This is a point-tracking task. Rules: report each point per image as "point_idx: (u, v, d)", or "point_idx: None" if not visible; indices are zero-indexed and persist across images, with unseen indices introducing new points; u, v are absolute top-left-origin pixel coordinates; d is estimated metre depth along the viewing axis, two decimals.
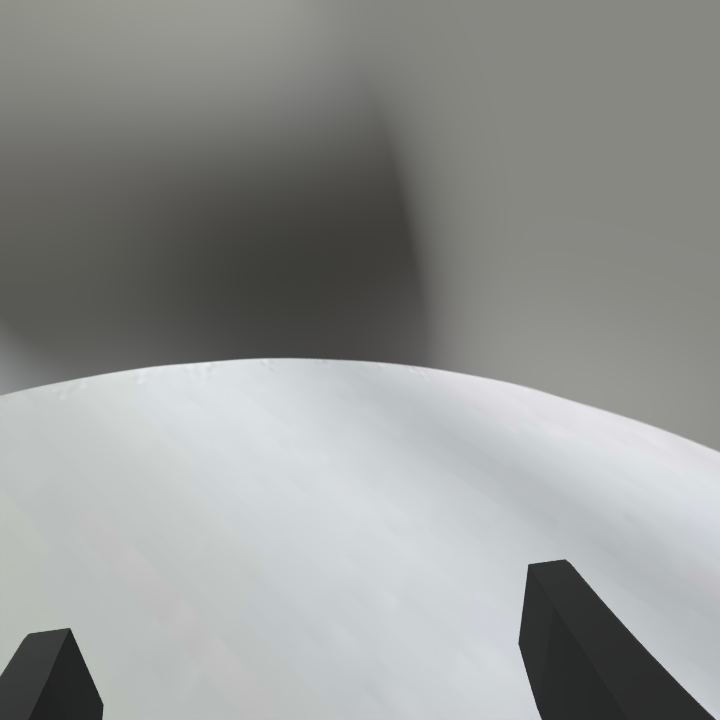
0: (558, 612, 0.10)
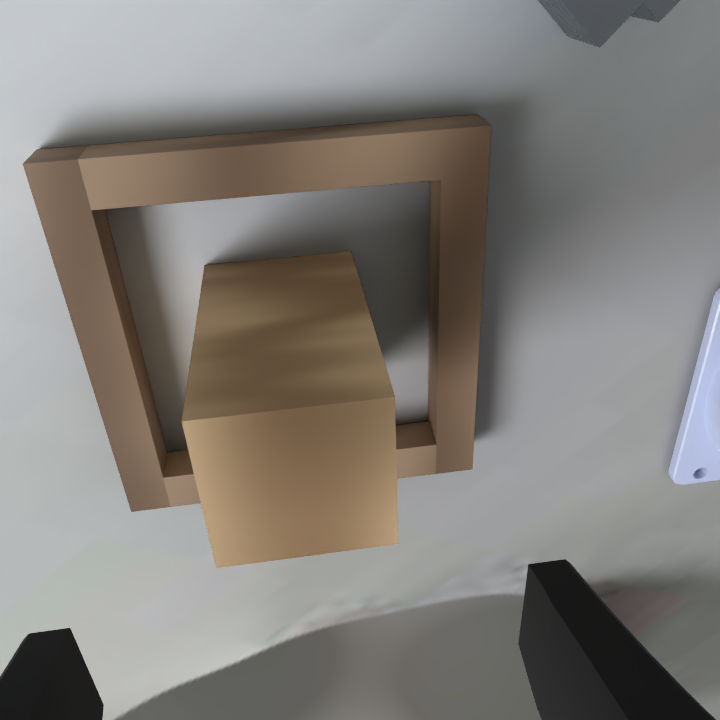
0: (558, 612, 0.10)
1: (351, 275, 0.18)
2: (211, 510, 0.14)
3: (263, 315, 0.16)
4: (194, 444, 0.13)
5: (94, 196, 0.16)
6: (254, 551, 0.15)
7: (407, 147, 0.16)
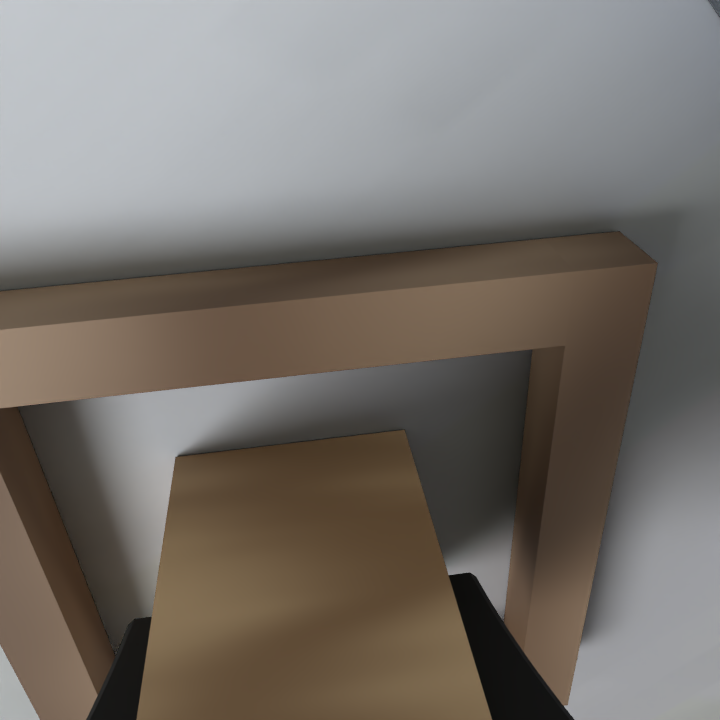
0: None
1: (411, 491, 0.11)
2: None
3: (269, 598, 0.09)
4: None
5: None
6: None
7: (514, 300, 0.10)
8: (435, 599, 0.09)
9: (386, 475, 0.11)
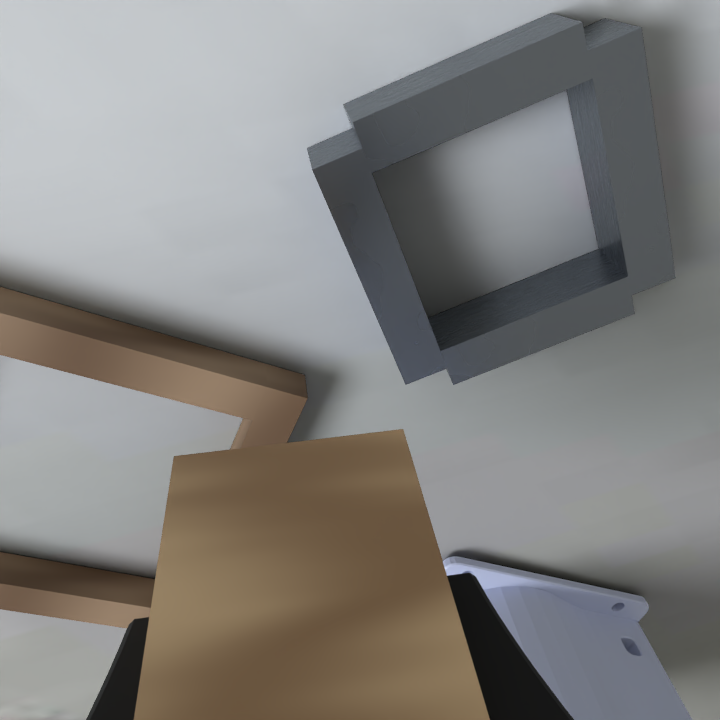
0: None
1: (409, 491, 0.11)
2: None
3: (267, 597, 0.09)
4: None
5: None
6: None
7: (233, 389, 0.19)
8: (433, 598, 0.09)
9: (384, 474, 0.11)
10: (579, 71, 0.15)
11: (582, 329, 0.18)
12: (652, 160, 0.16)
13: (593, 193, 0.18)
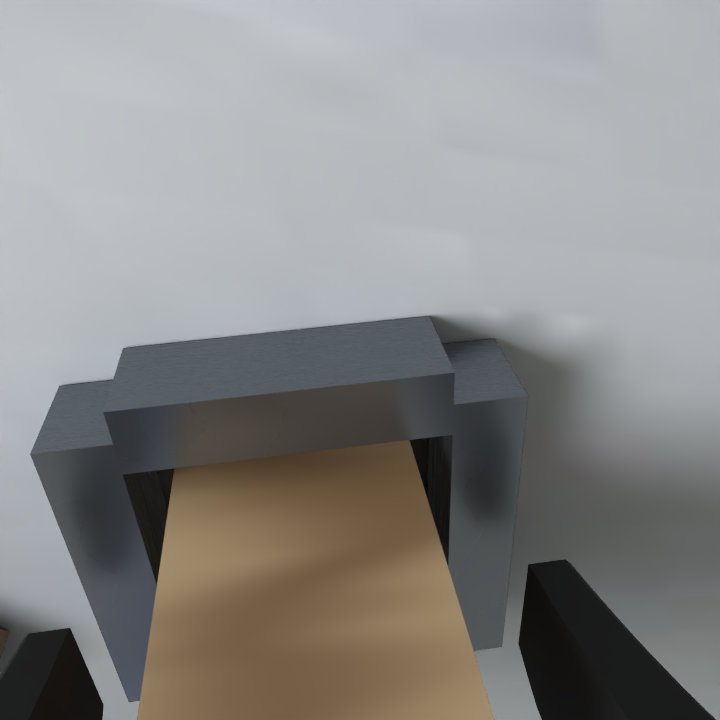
0: (558, 612, 0.10)
1: (402, 454, 0.11)
2: None
3: (269, 548, 0.10)
4: None
5: None
6: None
7: None
8: (423, 548, 0.10)
9: None
10: (437, 423, 0.11)
11: None
12: (505, 531, 0.12)
13: None
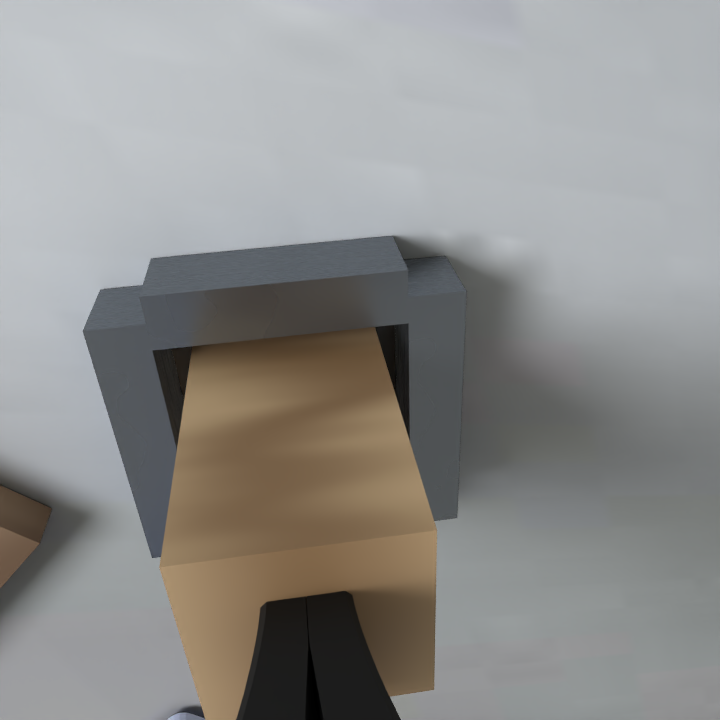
0: (311, 648, 0.09)
1: (370, 343, 0.15)
2: (200, 663, 0.11)
3: (265, 400, 0.13)
4: (176, 592, 0.10)
5: None
6: None
7: None
8: (382, 398, 0.13)
9: (353, 334, 0.15)
10: (396, 313, 0.14)
11: None
12: (454, 410, 0.15)
13: None
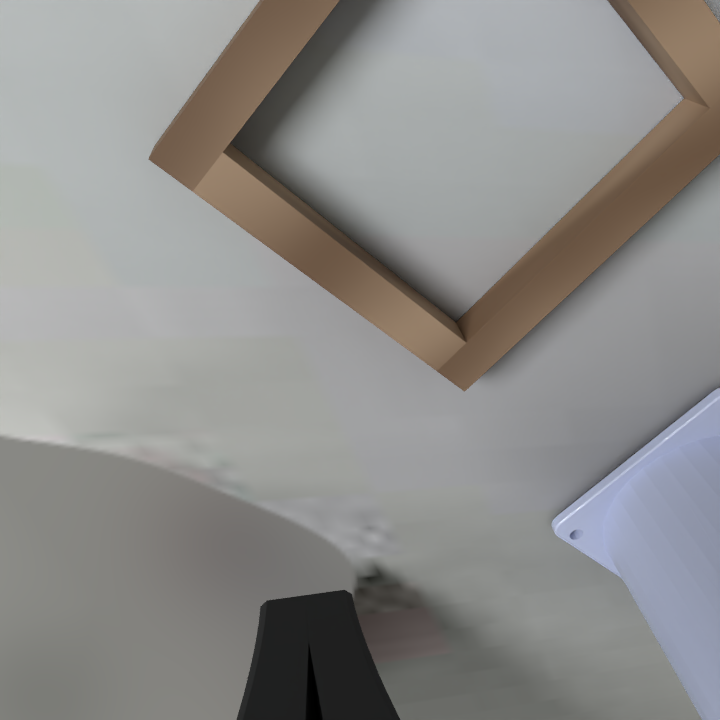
0: (310, 648, 0.09)
1: None
2: None
3: None
4: None
5: None
6: None
7: None
8: None
9: None
10: None
11: None
12: None
13: None
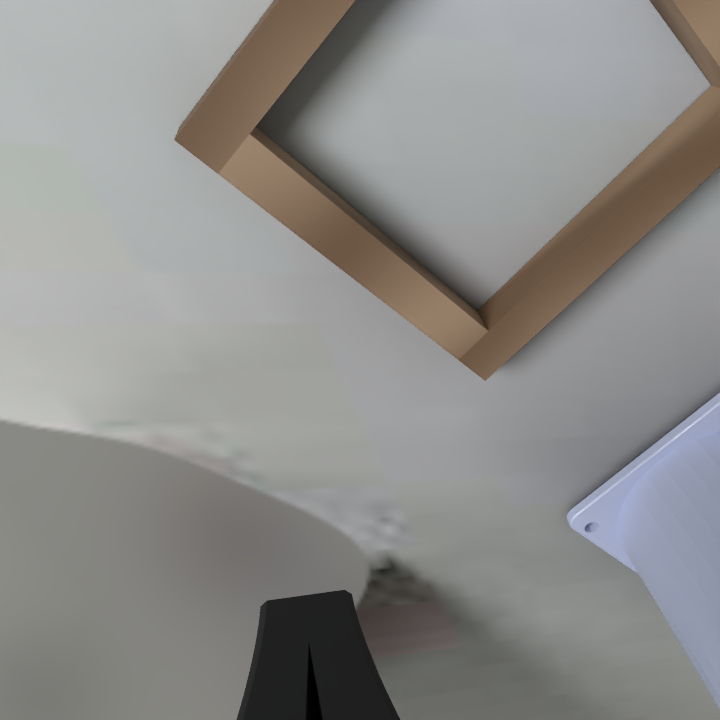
0: (310, 648, 0.09)
1: None
2: None
3: None
4: None
5: None
6: None
7: None
8: None
9: None
10: None
11: None
12: None
13: None
